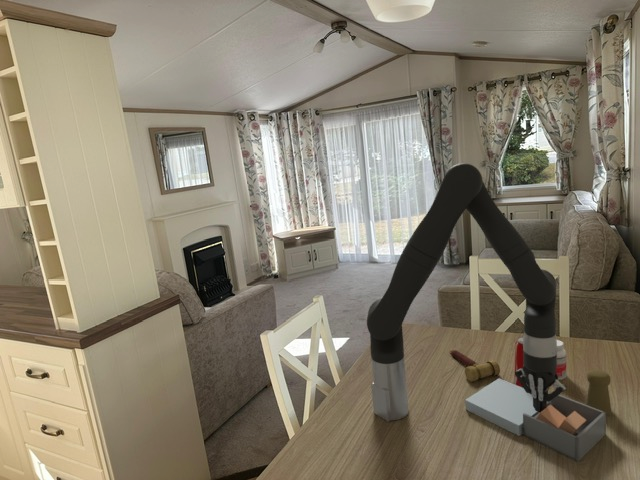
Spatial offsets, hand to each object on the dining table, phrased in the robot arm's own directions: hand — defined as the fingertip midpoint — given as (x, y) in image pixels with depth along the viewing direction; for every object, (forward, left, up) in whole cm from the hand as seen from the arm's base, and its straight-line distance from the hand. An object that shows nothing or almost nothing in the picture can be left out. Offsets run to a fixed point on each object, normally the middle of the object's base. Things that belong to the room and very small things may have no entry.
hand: (539, 410), depth 112 cm
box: (0, -6, -4) cm, 7 cm away
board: (0, +9, -4) cm, 10 cm away
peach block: (0, -6, 0) cm, 7 cm away
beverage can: (+14, +12, -4) cm, 19 cm away
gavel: (+13, +32, -5) cm, 35 cm away
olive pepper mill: (+16, -7, -4) cm, 18 cm away
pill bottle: (+25, +9, -4) cm, 27 cm away
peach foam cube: (0, -3, -2) cm, 3 cm away
